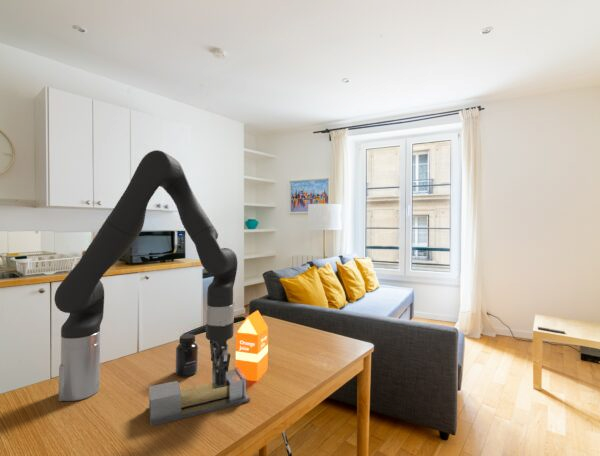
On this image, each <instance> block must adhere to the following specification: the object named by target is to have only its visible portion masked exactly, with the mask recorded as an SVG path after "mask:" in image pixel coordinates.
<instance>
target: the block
mask: <svg viewBox="0 0 600 456" xmlns="http://www.w3.org/2000/svg"><path fill="white" fill-rule="evenodd" d="M212 363H213V365H212V380H211V382H209V383H205V384H200V385H196V386H192V387H191V386H190V387H187V388H180V390H181V408H183V407H187V406H191V405H195V404H199V403H204V402H208V401H212V400H216V399H220V398H224V397H228V388H229V384H228V382H227V381H226V372H225V384H224V385H221V386H217V384H216V374H217V372H216V364H215V362H213V361H212Z"/></svg>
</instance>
